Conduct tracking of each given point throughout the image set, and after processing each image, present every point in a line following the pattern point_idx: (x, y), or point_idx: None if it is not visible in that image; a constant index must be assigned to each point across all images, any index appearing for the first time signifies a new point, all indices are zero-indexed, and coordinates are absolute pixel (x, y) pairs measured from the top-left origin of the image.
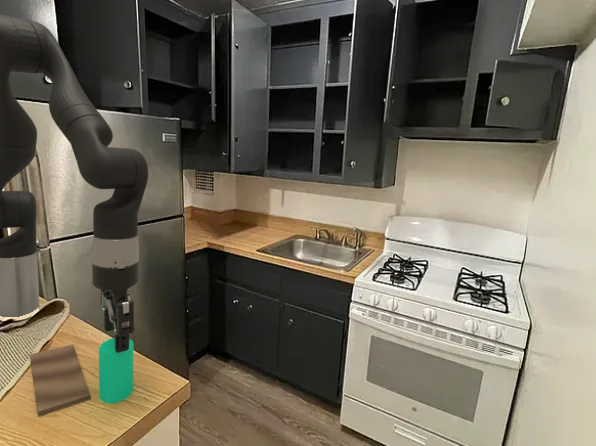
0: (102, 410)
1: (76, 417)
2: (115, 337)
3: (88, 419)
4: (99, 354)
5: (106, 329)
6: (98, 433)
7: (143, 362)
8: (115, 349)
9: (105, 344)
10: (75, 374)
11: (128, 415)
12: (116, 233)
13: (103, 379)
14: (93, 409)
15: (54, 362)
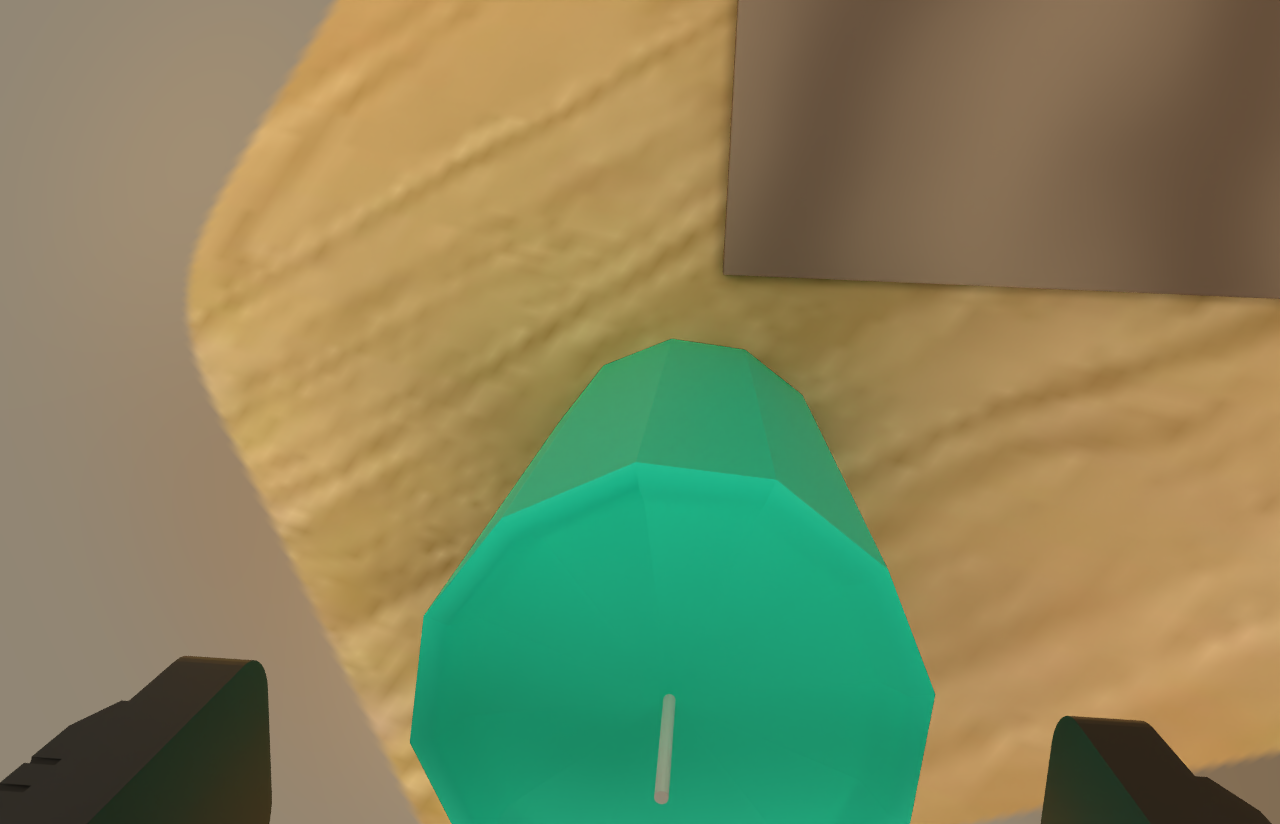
0: (522, 321)
1: (553, 126)
2: (17, 820)
3: (475, 203)
4: (672, 448)
5: (1070, 746)
6: (278, 232)
7: (987, 802)
8: (189, 670)
9: (843, 590)
10: (1143, 224)
11: (352, 471)
12: None
13: (600, 399)
14: (576, 264)
15: None
